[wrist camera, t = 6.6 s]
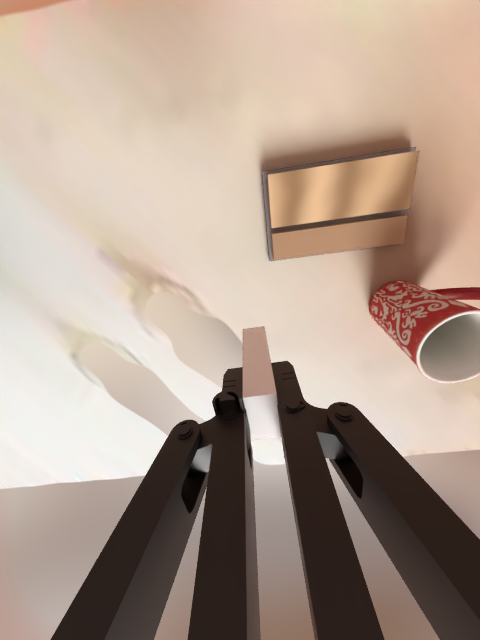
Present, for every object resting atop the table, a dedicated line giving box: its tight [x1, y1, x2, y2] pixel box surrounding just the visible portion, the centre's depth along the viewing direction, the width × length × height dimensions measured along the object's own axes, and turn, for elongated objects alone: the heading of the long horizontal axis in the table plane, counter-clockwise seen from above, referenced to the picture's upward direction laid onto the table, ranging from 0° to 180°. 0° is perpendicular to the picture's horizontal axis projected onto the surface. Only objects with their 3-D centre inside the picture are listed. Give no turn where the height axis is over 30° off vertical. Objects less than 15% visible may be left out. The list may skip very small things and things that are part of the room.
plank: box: [267, 151, 419, 228], centre depth 29 cm, size 17×6×1 cm, turn 98°
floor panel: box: [262, 147, 416, 261], centre depth 31 cm, size 18×11×2 cm, turn 98°
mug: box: [369, 281, 480, 383], centre depth 31 cm, size 13×9×14 cm
